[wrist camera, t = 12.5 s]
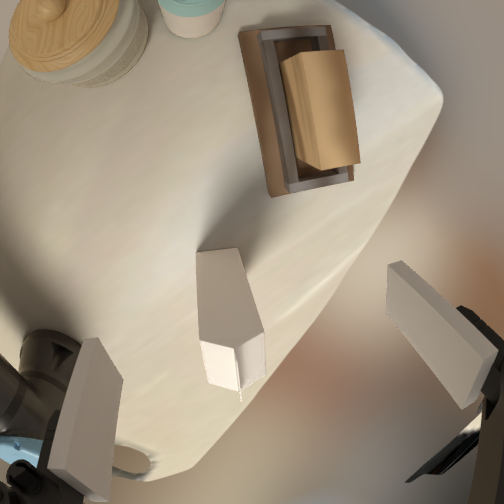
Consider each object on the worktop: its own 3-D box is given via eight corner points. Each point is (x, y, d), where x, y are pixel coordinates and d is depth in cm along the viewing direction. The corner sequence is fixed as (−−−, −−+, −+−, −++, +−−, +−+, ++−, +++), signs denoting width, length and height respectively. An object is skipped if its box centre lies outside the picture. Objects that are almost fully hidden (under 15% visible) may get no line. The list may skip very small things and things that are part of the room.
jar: (75, -5, 26) (17, -53, 10) (164, 4, 30) (146, -59, 14) (45, 83, 31) (-33, 78, 15) (132, 95, 34) (88, 85, 19)
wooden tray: (268, 194, 43) (276, 203, 39) (237, 34, 33) (242, 27, 30) (349, 178, 44) (362, 184, 40) (326, 27, 34) (338, 21, 30)
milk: (237, 246, 46) (273, 353, 26) (240, 283, 48) (274, 397, 28) (194, 252, 45) (200, 364, 25) (199, 289, 47) (210, 407, 28)
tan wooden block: (292, 155, 40) (321, 170, 31) (275, 65, 34) (300, 52, 25) (326, 149, 40) (362, 162, 31) (311, 61, 35) (345, 49, 26)
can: (222, 37, 33) (233, 9, 22) (165, 42, 32) (154, 16, 21) (219, -10, 30) (229, -49, 19) (163, -5, 29) (153, -43, 18)
